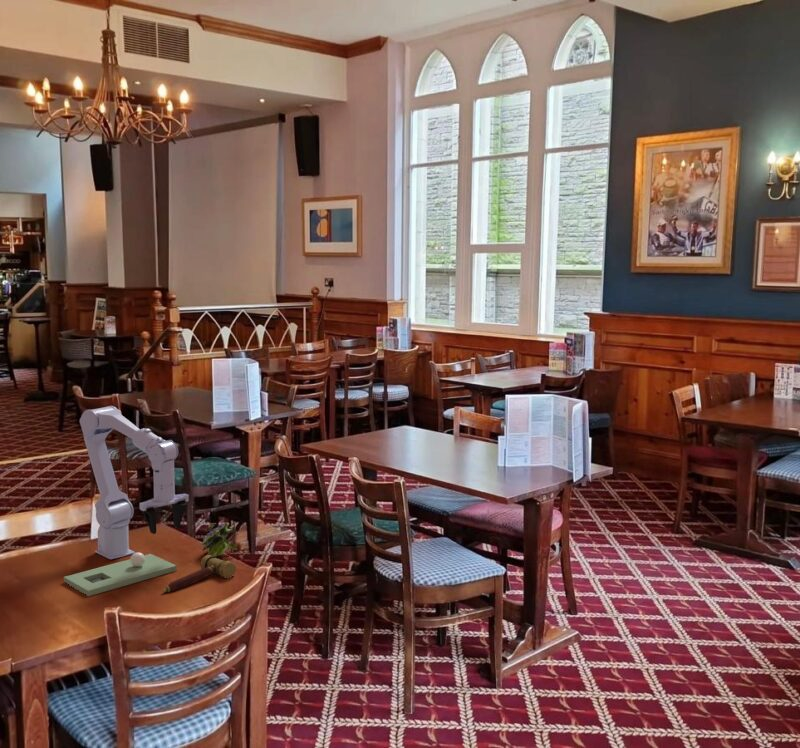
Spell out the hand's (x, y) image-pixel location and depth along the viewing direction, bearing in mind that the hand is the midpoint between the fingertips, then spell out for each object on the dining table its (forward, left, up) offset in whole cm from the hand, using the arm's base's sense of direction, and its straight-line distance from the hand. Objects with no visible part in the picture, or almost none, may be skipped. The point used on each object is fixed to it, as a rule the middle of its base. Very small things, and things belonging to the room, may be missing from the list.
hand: (165, 530), depth 236 cm
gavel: (+17, -2, -11) cm, 20 cm away
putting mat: (-1, -13, -10) cm, 17 cm away
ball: (-1, -8, -7) cm, 11 cm away
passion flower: (+3, +17, -11) cm, 20 cm away
